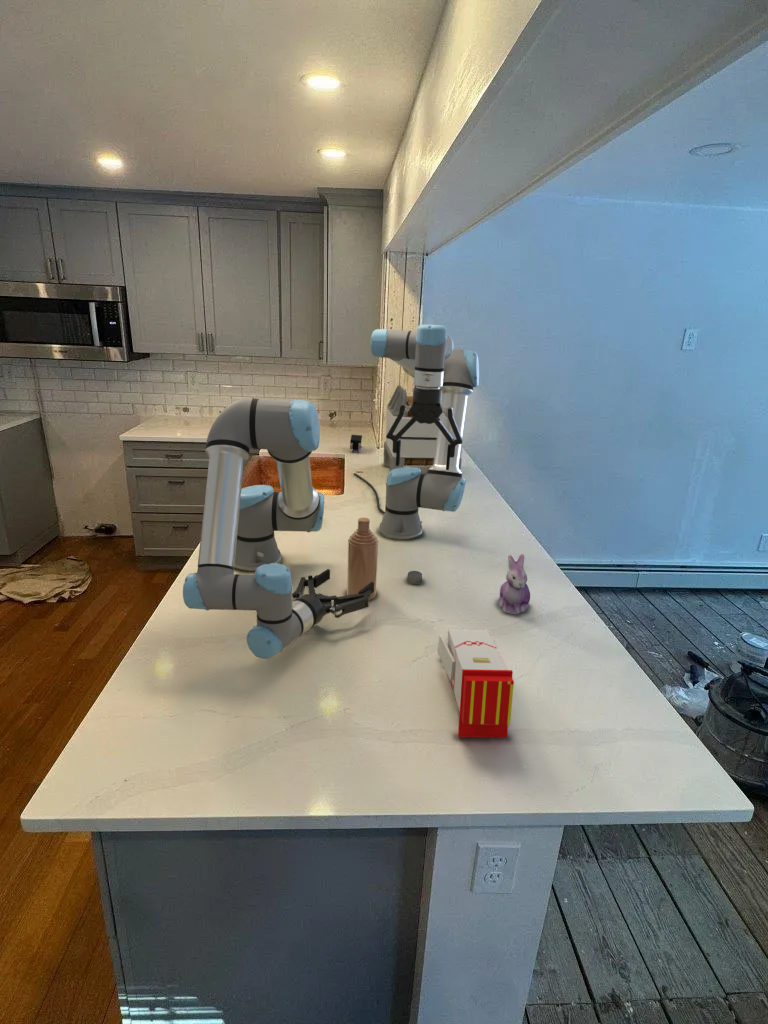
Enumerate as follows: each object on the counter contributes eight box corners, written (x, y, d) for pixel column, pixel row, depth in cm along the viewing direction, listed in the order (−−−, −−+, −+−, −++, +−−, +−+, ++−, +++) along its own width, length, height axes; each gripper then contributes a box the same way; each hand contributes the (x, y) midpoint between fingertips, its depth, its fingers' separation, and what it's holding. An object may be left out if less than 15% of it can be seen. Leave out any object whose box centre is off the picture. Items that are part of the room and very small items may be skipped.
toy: (488, 613, 130) (523, 677, 101) (484, 667, 133) (517, 744, 104) (435, 612, 130) (455, 676, 101) (432, 666, 133) (451, 743, 103)
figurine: (512, 619, 147) (519, 566, 142) (488, 601, 156) (494, 551, 151) (540, 611, 151) (548, 560, 146) (515, 594, 160) (522, 546, 155)
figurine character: (361, 456, 307) (362, 446, 320) (362, 442, 303) (362, 433, 317) (349, 455, 306) (350, 446, 320) (349, 442, 303) (350, 433, 316)
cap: (421, 585, 163) (422, 577, 163) (406, 583, 164) (407, 576, 163) (422, 578, 168) (422, 571, 167) (407, 577, 168) (408, 570, 167)
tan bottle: (348, 601, 153) (349, 525, 145) (345, 587, 160) (347, 514, 153) (377, 600, 154) (380, 524, 146) (374, 586, 161) (377, 514, 154)
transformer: (382, 463, 289) (386, 382, 275) (445, 464, 293) (451, 384, 279) (390, 482, 257) (394, 392, 243) (460, 483, 261) (468, 394, 247)
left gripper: (260, 614, 138) (311, 581, 156) (347, 644, 127) (391, 605, 145) (259, 586, 136) (311, 556, 154) (347, 615, 125) (392, 579, 143)
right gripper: (378, 386, 145) (374, 466, 152) (476, 392, 142) (468, 474, 149) (382, 382, 152) (379, 459, 159) (476, 388, 149) (468, 466, 156)
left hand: (350, 580), depth 149 cm, fingers open, 13 cm apart
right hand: (422, 466), depth 154 cm, fingers open, 13 cm apart
